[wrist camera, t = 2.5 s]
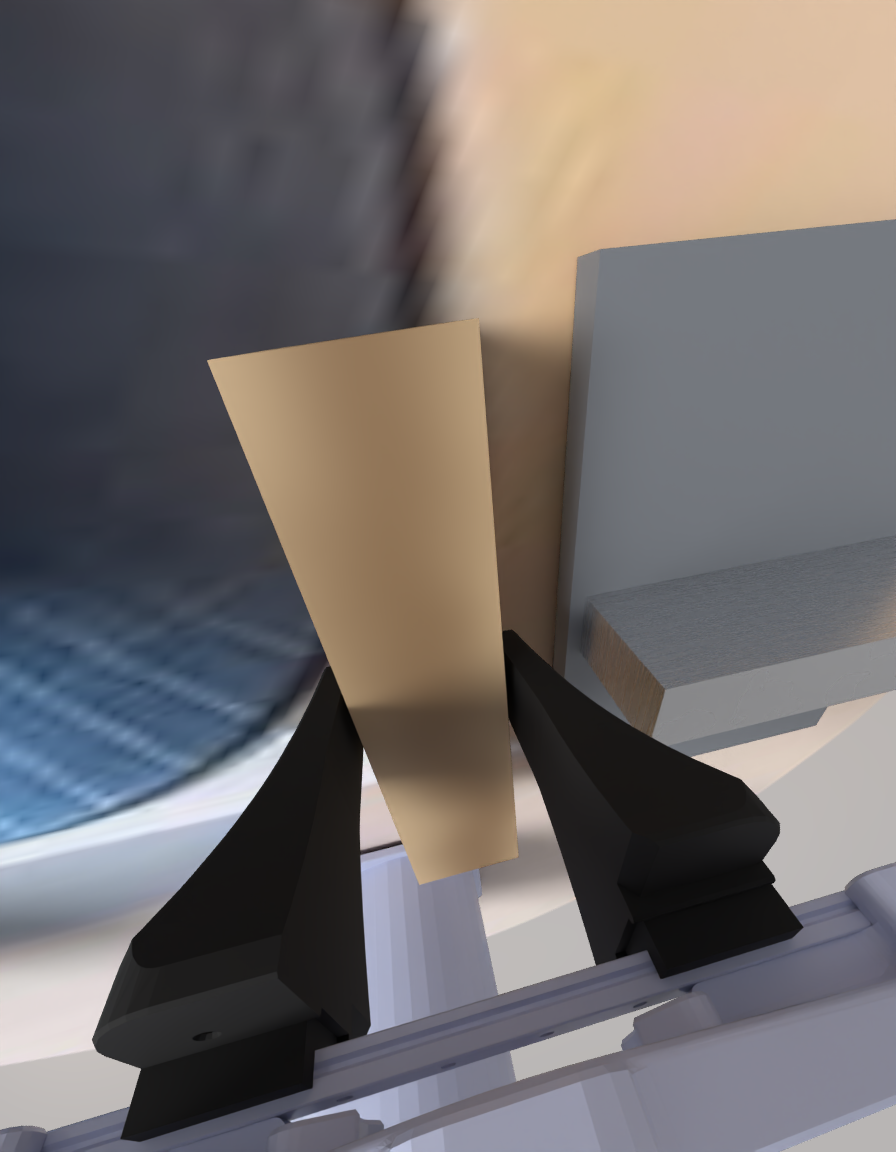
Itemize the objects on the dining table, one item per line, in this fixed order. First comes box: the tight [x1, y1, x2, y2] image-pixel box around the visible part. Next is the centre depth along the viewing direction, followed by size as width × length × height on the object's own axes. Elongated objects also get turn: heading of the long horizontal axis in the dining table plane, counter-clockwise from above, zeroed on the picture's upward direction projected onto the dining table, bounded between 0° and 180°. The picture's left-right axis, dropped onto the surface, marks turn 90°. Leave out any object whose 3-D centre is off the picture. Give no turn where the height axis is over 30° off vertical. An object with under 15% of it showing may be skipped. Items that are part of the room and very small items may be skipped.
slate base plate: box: [553, 219, 896, 757], centre depth 15 cm, size 14×20×1 cm
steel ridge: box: [580, 535, 896, 746], centre depth 12 cm, size 13×2×4 cm, turn 96°
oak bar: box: [207, 318, 519, 885], centre depth 12 cm, size 4×18×4 cm, turn 8°
